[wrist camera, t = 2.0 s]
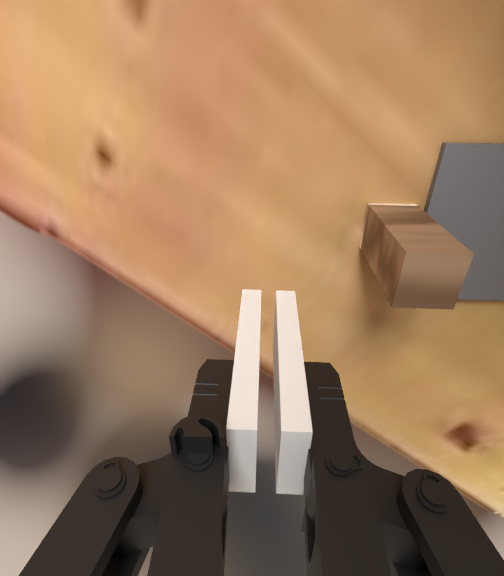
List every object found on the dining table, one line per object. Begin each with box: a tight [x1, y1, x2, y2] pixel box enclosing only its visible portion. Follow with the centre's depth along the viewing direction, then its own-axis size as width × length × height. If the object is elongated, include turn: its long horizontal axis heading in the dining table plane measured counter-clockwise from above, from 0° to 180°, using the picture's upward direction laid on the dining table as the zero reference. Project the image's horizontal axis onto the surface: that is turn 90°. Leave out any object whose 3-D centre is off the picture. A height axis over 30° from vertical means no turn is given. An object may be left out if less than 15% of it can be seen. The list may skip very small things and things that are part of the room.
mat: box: [424, 143, 504, 301], centre depth 37 cm, size 17×14×1 cm
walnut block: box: [359, 203, 474, 309], centre depth 33 cm, size 5×5×12 cm
